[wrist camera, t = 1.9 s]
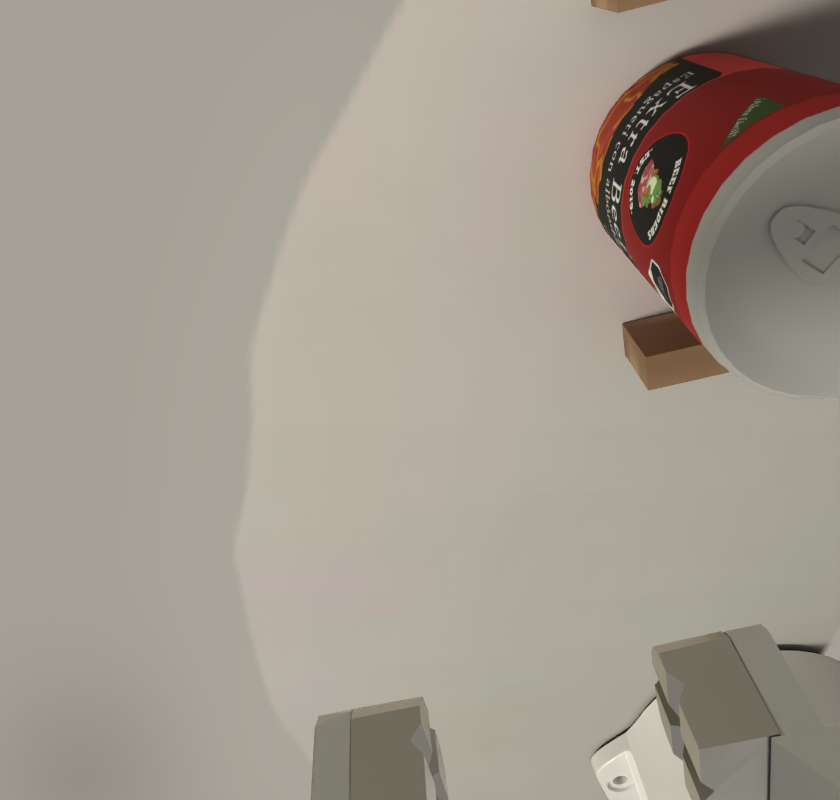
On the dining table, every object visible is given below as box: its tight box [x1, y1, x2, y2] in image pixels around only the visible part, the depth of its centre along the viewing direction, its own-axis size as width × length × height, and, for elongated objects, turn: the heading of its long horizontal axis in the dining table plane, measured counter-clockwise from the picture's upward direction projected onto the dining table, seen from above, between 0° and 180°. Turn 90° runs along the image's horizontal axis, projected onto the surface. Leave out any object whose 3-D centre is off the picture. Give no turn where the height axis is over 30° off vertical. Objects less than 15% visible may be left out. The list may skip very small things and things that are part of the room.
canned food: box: [590, 52, 840, 399], centre depth 24 cm, size 8×8×11 cm
